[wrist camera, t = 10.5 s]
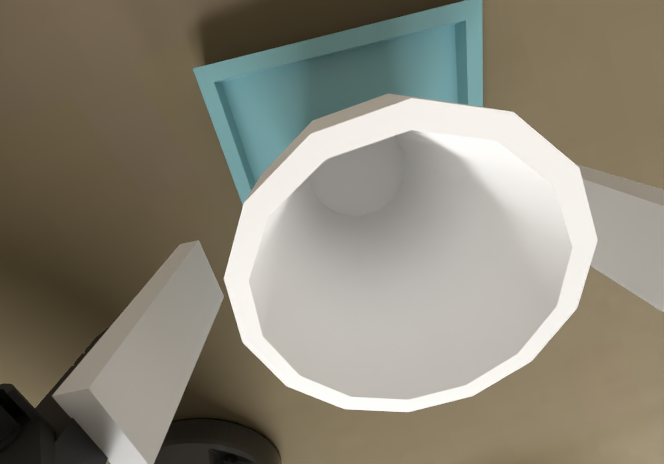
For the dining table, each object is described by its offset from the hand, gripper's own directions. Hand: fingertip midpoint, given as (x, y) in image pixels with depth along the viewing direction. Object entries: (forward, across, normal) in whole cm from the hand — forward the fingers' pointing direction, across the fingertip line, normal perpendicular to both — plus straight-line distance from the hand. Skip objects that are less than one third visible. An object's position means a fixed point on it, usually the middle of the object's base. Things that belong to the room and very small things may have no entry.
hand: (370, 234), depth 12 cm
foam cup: (+9, +1, 0) cm, 9 cm away
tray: (+9, +1, 0) cm, 9 cm away
